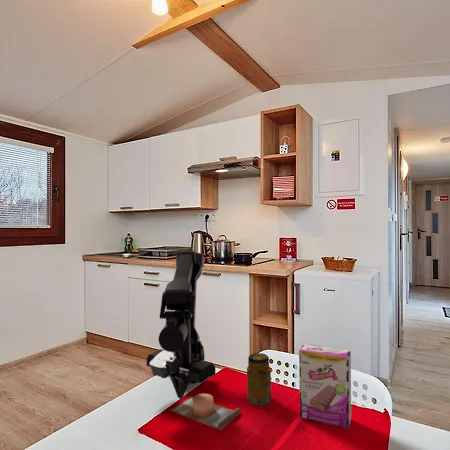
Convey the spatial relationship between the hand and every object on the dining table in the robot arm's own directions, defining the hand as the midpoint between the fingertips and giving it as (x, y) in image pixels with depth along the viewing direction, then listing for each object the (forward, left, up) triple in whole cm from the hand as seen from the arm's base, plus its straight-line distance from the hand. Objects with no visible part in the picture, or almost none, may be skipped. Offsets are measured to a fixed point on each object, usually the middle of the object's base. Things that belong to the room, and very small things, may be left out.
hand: (180, 397), depth 88 cm
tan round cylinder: (+7, 0, -1) cm, 7 cm away
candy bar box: (+33, +14, -2) cm, 35 cm away
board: (+8, 0, -2) cm, 8 cm away
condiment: (+17, +12, -2) cm, 21 cm away
